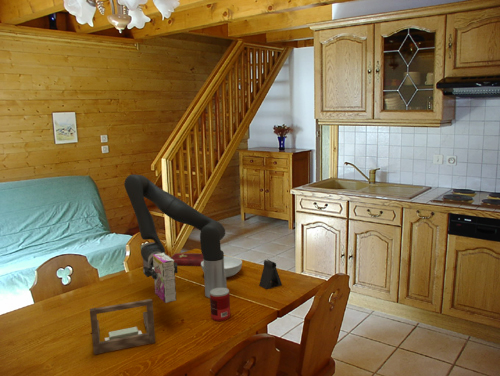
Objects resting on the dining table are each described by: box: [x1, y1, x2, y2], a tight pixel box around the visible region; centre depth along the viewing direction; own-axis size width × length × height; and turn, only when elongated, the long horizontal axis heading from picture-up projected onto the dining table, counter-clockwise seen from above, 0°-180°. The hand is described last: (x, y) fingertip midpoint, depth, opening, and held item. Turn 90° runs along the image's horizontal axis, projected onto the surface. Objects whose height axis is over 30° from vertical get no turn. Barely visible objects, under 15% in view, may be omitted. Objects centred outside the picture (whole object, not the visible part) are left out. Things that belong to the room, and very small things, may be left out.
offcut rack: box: [89, 298, 156, 355], centre depth 166 cm, size 21×20×16 cm
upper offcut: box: [108, 326, 139, 340], centre depth 162 cm, size 10×4×2 cm, turn 112°
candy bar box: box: [153, 252, 177, 304], centre depth 173 cm, size 11×5×16 cm, turn 32°
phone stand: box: [258, 259, 283, 290], centre depth 210 cm, size 9×6×12 cm, turn 123°
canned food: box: [209, 287, 231, 322], centre depth 179 cm, size 8×8×11 cm
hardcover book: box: [169, 252, 203, 267], centre depth 249 cm, size 12×21×4 cm, turn 80°
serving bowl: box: [200, 255, 243, 278], centre depth 228 cm, size 21×21×7 cm
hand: (164, 275), depth 172 cm, fingers closed on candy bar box, 6 cm apart
